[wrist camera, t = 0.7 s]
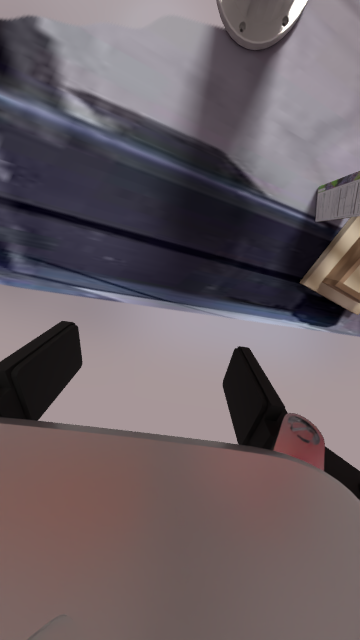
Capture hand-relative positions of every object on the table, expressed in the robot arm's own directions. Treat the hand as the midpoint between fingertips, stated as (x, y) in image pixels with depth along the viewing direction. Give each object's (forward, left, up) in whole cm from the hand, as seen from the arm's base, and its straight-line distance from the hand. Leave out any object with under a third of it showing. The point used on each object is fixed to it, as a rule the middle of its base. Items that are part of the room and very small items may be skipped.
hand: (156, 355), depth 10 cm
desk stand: (-17, +33, -29) cm, 48 cm away
